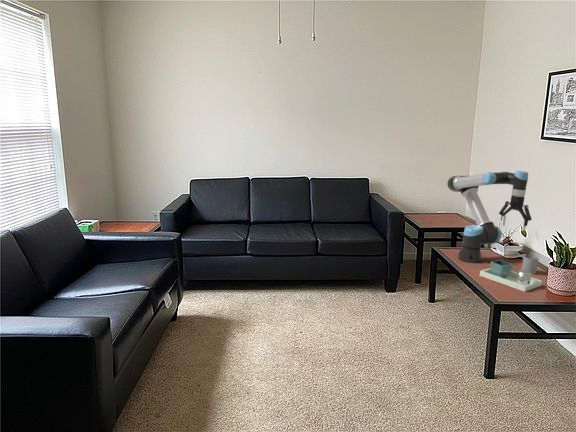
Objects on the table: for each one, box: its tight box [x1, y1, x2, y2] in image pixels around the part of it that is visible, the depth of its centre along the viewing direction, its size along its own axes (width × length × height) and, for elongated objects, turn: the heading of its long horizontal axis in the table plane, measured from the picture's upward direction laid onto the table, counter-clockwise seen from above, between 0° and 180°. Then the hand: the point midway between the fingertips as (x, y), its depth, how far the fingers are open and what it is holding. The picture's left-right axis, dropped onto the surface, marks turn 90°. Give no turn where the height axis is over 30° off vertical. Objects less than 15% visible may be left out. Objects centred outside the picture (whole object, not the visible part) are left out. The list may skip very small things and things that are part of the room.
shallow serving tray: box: [479, 267, 543, 292], centre depth 263 cm, size 28×18×4 cm, turn 34°
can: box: [516, 269, 533, 286], centre depth 256 cm, size 7×7×8 cm
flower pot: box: [490, 259, 513, 278], centre depth 267 cm, size 9×9×9 cm
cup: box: [520, 254, 539, 275], centre depth 281 cm, size 8×8×10 cm
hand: (512, 228), depth 283 cm, fingers open, 13 cm apart
